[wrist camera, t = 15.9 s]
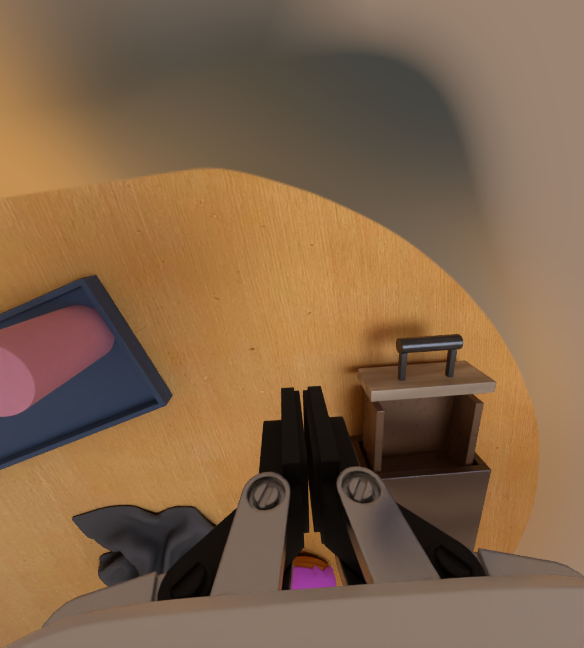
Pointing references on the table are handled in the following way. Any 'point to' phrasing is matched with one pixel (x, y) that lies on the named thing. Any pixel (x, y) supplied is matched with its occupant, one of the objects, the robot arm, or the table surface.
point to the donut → (312, 573)
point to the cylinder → (48, 354)
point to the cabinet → (440, 494)
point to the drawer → (422, 409)
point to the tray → (83, 381)
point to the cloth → (141, 539)
